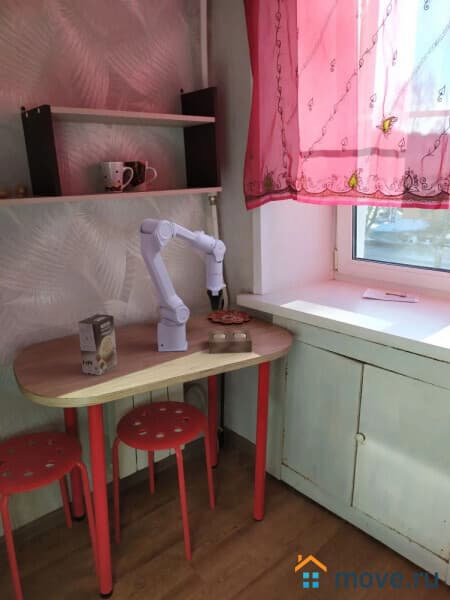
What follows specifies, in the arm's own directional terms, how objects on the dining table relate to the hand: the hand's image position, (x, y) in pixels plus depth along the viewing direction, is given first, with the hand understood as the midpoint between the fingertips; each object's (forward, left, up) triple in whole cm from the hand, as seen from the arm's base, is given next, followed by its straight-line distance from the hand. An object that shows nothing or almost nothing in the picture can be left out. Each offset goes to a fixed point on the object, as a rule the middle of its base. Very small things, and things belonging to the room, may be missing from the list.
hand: (215, 309), depth 168 cm
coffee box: (-36, -28, -10) cm, 47 cm away
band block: (+5, -13, -9) cm, 17 cm away
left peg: (+1, -13, -9) cm, 16 cm away
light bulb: (-19, +10, -10) cm, 24 cm away
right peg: (+8, -13, -9) cm, 18 cm away
